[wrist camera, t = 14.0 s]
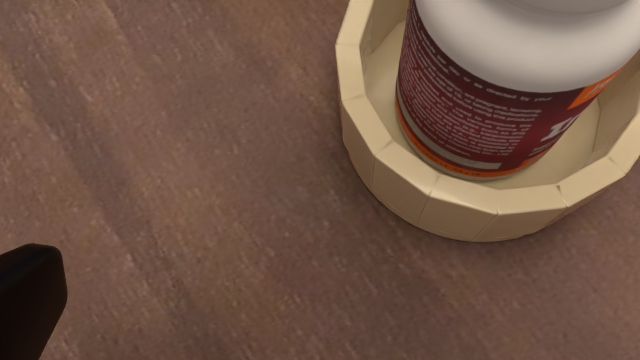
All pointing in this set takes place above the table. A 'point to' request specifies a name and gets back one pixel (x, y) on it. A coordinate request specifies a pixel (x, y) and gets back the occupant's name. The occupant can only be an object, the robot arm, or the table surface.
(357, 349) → the table surface
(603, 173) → the shallow bowl
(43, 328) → the robot arm
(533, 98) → the pill bottle
